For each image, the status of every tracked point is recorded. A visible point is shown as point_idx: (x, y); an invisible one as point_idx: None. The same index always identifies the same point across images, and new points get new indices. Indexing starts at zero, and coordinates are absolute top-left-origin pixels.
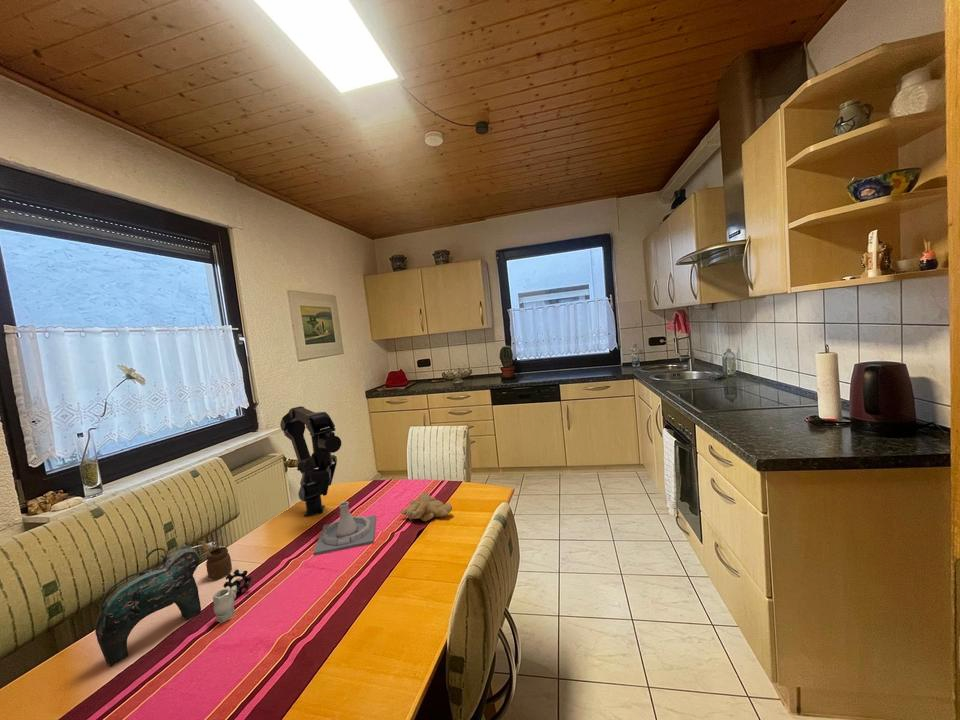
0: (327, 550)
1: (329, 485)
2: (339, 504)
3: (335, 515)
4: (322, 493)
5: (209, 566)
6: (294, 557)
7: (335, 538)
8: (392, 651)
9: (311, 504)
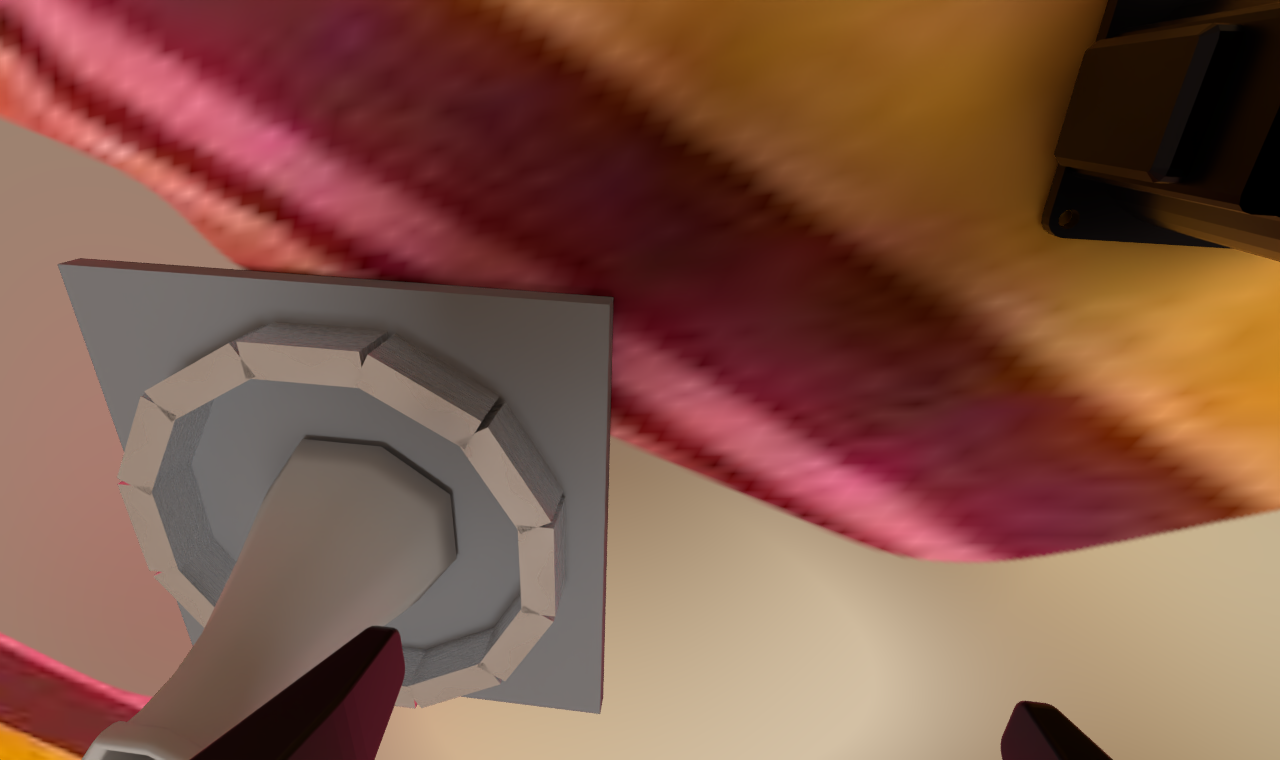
0: (104, 378)
1: (1009, 724)
2: (130, 752)
3: (861, 394)
4: (318, 667)
5: None
6: (51, 66)
7: (146, 469)
8: None
9: (1169, 110)
